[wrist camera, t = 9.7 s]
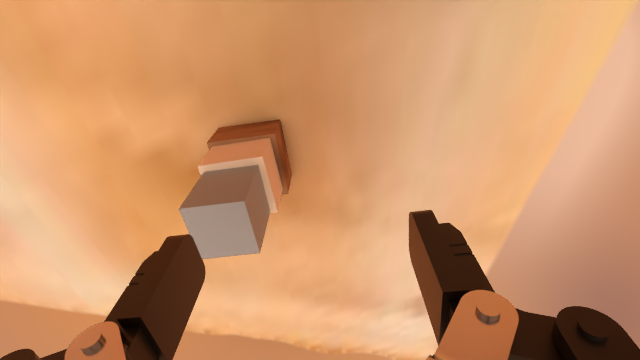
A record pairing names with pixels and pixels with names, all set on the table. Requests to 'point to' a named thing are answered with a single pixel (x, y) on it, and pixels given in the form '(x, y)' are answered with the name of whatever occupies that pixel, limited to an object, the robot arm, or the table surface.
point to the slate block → (227, 212)
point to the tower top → (248, 164)
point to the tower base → (254, 133)
